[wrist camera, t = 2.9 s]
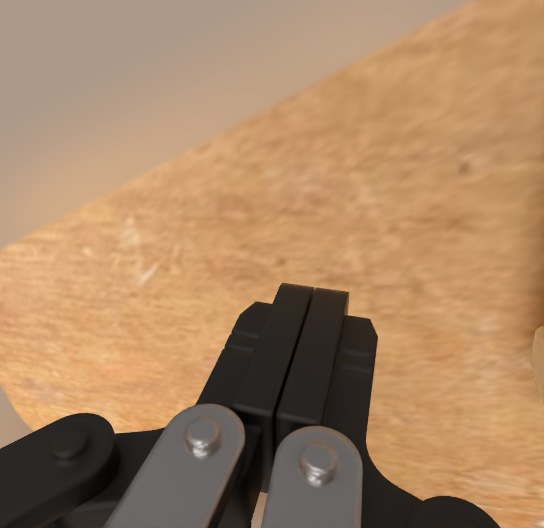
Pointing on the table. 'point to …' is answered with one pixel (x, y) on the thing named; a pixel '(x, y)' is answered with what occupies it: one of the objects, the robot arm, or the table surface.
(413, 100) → the table surface
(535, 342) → the pipe fitting
